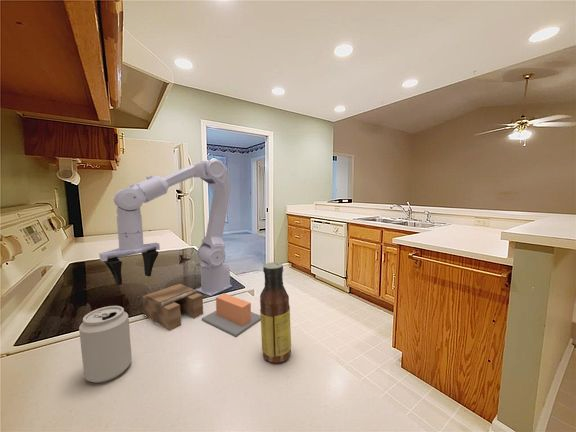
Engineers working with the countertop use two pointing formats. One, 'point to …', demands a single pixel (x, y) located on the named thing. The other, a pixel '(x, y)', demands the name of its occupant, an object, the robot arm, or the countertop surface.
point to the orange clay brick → (233, 309)
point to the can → (105, 343)
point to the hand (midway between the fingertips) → (134, 279)
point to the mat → (230, 323)
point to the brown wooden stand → (172, 305)
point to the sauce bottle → (275, 315)
